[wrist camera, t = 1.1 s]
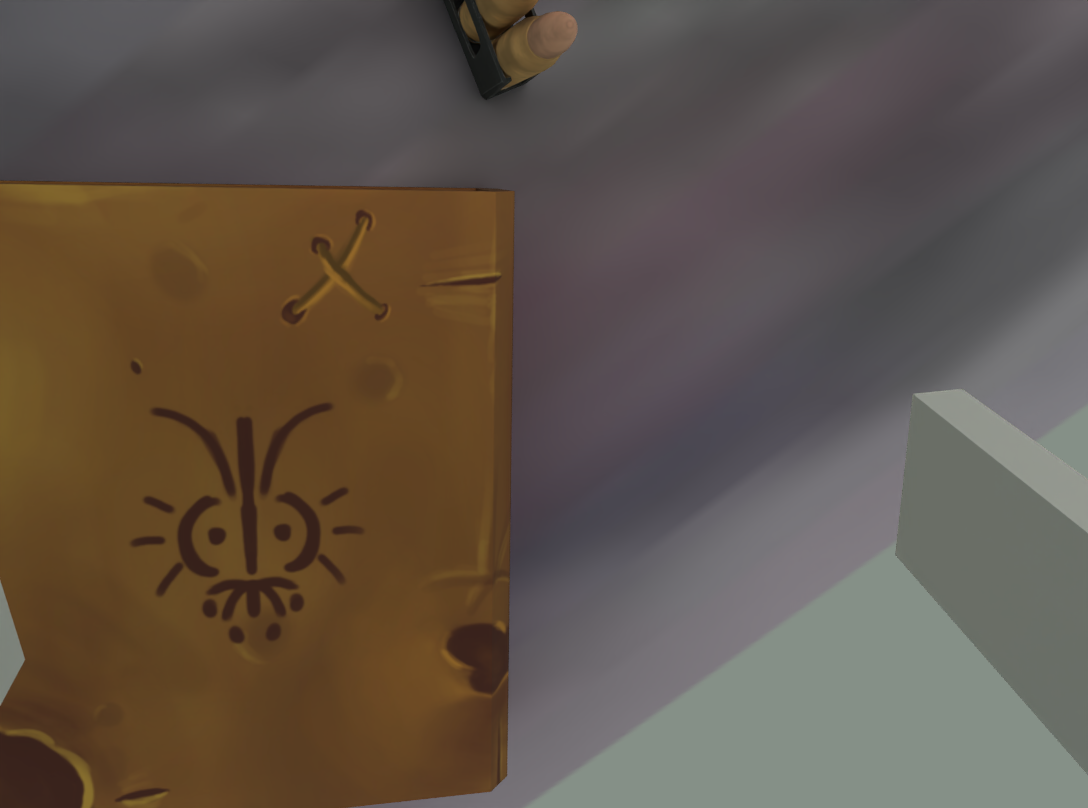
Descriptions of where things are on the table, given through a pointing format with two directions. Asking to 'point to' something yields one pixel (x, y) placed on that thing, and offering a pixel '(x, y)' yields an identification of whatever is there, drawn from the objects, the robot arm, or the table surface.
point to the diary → (254, 493)
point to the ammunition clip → (509, 40)
